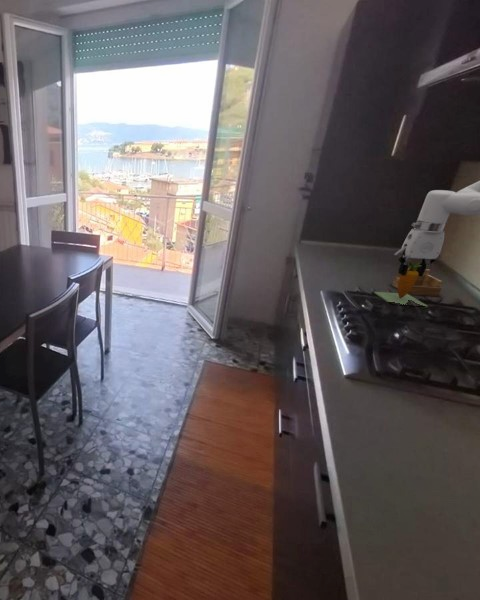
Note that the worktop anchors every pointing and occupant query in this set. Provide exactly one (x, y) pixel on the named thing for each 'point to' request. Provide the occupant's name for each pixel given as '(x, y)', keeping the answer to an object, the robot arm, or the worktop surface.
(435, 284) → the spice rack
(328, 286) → the worktop surface
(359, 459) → the worktop surface
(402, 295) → the carrot
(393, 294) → the mat
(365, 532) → the worktop surface
